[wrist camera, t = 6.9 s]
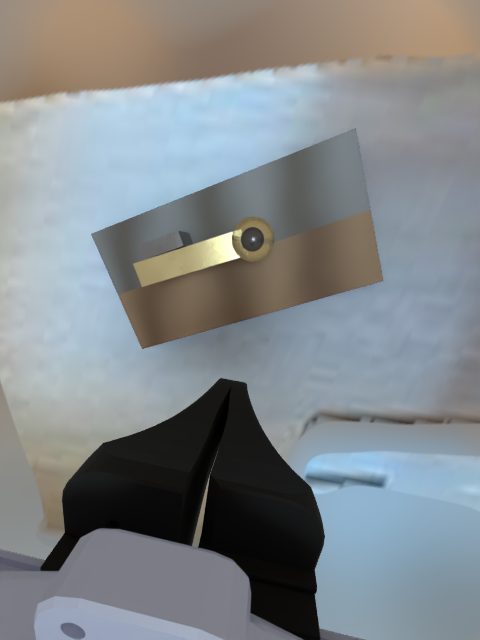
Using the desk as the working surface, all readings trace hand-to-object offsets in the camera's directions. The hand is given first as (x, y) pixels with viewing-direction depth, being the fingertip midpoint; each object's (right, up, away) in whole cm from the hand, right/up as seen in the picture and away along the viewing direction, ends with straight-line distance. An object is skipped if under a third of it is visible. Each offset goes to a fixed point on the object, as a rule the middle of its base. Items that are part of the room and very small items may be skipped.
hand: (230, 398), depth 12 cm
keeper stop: (-5, +9, +7) cm, 12 cm away
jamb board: (0, +9, +7) cm, 12 cm away
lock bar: (-2, +9, +6) cm, 11 cm away
